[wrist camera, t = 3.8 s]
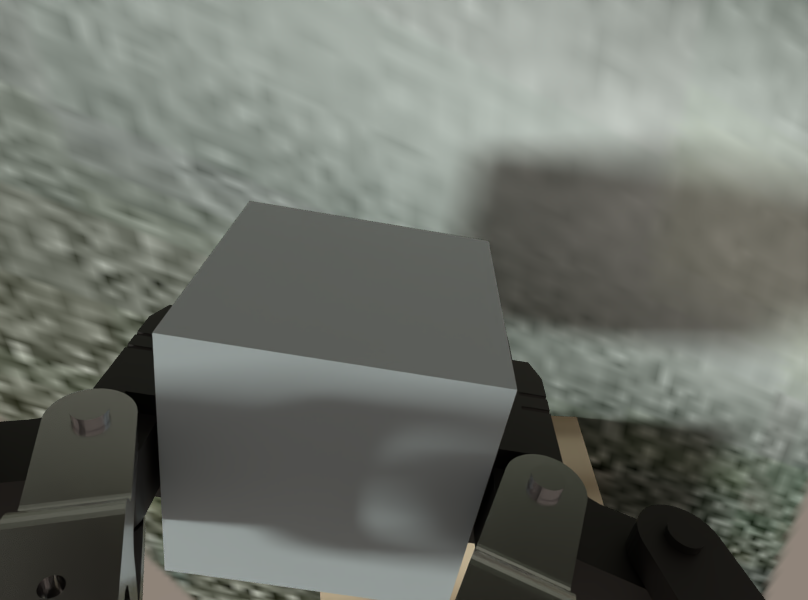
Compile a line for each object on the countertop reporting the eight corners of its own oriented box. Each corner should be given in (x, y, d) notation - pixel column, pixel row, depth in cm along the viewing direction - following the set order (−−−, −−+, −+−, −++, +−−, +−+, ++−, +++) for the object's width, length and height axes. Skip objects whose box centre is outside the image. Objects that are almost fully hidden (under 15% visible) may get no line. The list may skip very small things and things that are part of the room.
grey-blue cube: (249, 201, 13) (152, 332, 8) (488, 240, 13) (517, 389, 8) (242, 391, 15) (164, 570, 11) (442, 421, 15) (446, 609, 11)
